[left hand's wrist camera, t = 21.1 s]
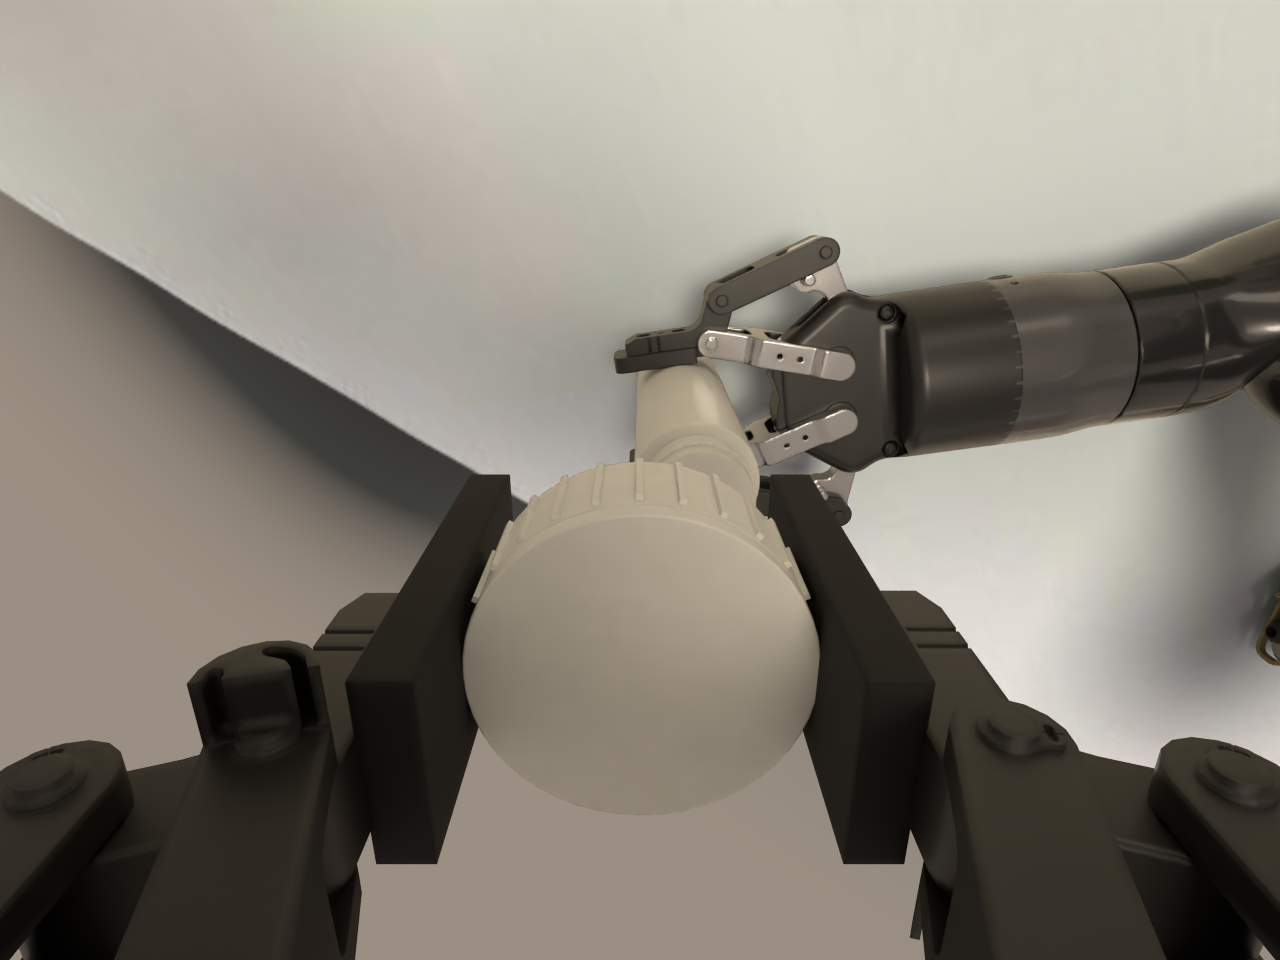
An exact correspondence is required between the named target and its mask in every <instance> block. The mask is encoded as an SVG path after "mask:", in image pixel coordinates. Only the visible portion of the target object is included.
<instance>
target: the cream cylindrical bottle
mask: <svg viewBox="0 0 1280 960" xmlns="http://www.w3.org/2000/svg"><path fill="white" fill-rule="evenodd" d="M697 362H698V363H696V364H689V365H680V366H674V367H667V368H660V369H653V370H646V371H639V372H638V384H637V411H636V438H635V462H636V459H637V458H643V462H655V463H666V464H671V465H675V462H680V463H682V465H683V467H686V468H689V469H692V470H695V471H698V472H701V473H704V474H707V475H709V476H712V474H713V473H714V474H716V475H718V476H719V479H720V481H721V482H723V483H725V484H727V485H728V486H730V487H731V488H733V489H734V490H736V491H737V492H739V493H740V494H742V495H743V494H744V493H747V494H748V495H749V496H750V497H751V500H752V503H753V505H755V506H756V498H757V495H758V491H759V485H760V474H759V468H758V464H757V461H756V458H755V456H754V453H753V451H752V449H751V447H750V444H749V442H748V440H747V438H746V435H745V433H744V431H743V429H742V426H741V424H740V422H739V420H738V417H737V415H736V413H735V410H734V408H733V406H732V404H731V401H730V399H729V397H728V395H727V392H726V390H725V388H724V386H723V383H722V381H721V379H720V377H719V374H718V372H717V370H716V368H715V365H714V363H713V361H712V359H711V358H709V357H706V356H704V357H697Z"/></svg>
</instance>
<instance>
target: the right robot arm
mask: <svg viewBox="0 0 1280 960" xmlns="http://www.w3.org/2000/svg"><path fill="white" fill-rule="evenodd" d="M839 255H840V247H839V245H838V243H837V242H836V241H835V240H834V239H832V238H828V237H822V236H816V235H813V236H809V237H807V238H805V239H803V240H801V241H799V242H796V243H794V244H792V245H790V246H788V247H786V248H784V249H782V250H780V251H777V252H775V253H773V254H771V255H769V256H767V257H765V258H763V259H761V260H759V261H756V262H754V263H752V264H750V265H748V266H746V267H744V268H742V269H740V270H737V271H735V272H733V273H731V274H729V275H727V276H725V277H723V278H721V279H718V280H716V281H714V282H712V283H710V284H709V285H708V286H707V287H706V289H705V291H704V300H703V304H702V309H701V313H700V316H699V318H698V320H697V321H696V322H695V323H694V324H692V325H691V326H688V327H683V328H676V329H669V330H662V331H655V332H649V333H641V334H635V335H634V336H632V337H630V338H629V339H627V340H626V344H625V346H626V349H624V350H620V351H617V352H615V355H614V361H615V368H616V373H618V374H624V373H632V372H639V371H646V370H653V369H660V368H667V367H674V366H680V365H689V364H696V363H698V362H697V357H704V356H706V357H709V358H715V359H722V360H728V361H735V362H741V363H746V364H749V365H752V366H755V367H761V368H766V369H767V375H768V377H769V380H770V383H771V385H772V394H771V399H770V414H769V415H767V416H765V417H763V418H760V419H758V420H756V421H754V422H752V423H751V424H749V425H748V427H747V428H745V429H743V431H744V433H745V435H746V438H747V440H748V442H749V444H750V447H751V449H752V451H753V453H754V456H755V458H756V461H757V464H758V467H759V466H762V465H767V466H768V465H773V464H776V463H778V462H781V461H783V460H785V459H788V458H790V457H792V456H795V455H797V454H800V453H802V452H806V453H808V454H809V455H811V456H813V457H815V458H817V459H819V460H821V461H823V462H825V463H827V464H829V465H831V467H830V469H829V470H827V471H826V472H824V473H815V474H811V475H810V476H811V478H812V480H813V481H814V483H815V485H816V486H817V488H818V489H819V491H820V493H821V494H822V496H823V498H824V499H825V501H826V503H827V504H828V506H829V508H830V509H831V511H832V512H833V514H834V516H835V517H836V519H837V521H838V522H839V524H840V526H843V525H845V524H847V523H848V522H849V520H850V519H851V515H852V513H851V509H850V508H849V506H848V504H847V501H848V497H849V493H850V490H851V486H852V482H853V479H854V475H855V472H858V471H861V470H863V469H865V468H867V467H868V466H869V465H871V464H873V463H874V462H876V461H878V460H881V459H884V458H891V457H907V456H915V455H922V454H930V453H937V452H945V451H953V450H960V449H968V448H975V447H982V446H990V445H998V444H1005V443H1013V442H1020V441H1028V440H1035V439H1042V438H1048V437H1054V436H1059V435H1063V434H1067V433H1071V432H1074V431H1078V430H1081V429H1085V428H1089V427H1094V426H1099V425H1107V424H1114V423H1122V422H1129V421H1137V420H1144V419H1152V418H1159V417H1167V416H1174V415H1180V414H1186V413H1191V412H1196V411H1200V410H1203V409H1206V408H1209V407H1212V406H1214V405H1217V404H1219V403H1221V402H1223V401H1225V400H1227V399H1229V398H1230V397H1232V396H1233V395H1235V394H1236V393H1237V392H1239V391H1240V390H1241V389H1242V388H1244V390H1245V391H1246V393H1247V394H1248V396H1249V397H1250V398H1251V400H1252V401H1253V402H1254V403H1255V404H1256V405H1257V406H1258V407H1259V408H1260V409H1261V410H1263V411H1264V412H1265V413H1266V414H1267V415H1268V416H1270V417H1271V418H1273V419H1274V420H1275V421H1277V422H1278V423H1279V424H1280V218H1279V219H1277V220H1274V221H1272V222H1269V223H1266V224H1264V225H1261V226H1258V227H1256V228H1253V229H1251V230H1248V231H1245V232H1243V233H1240V234H1237V235H1234V236H1232V237H1229V238H1226V239H1224V240H1221V241H1219V242H1217V243H1215V244H1212V245H1210V246H1208V247H1206V248H1203V249H1201V250H1199V251H1197V252H1195V253H1192V254H1190V255H1187V256H1185V257H1182V258H1179V259H1174V260H1168V261H1158V262H1150V263H1143V264H1137V265H1130V266H1123V267H1116V268H1109V269H1102V270H1095V271H1086V272H1075V273H1035V274H1026V275H1019V276H1007V275H1001V276H995V277H991V278H988V279H987V280H984V281H978V282H971V283H964V284H958V285H950V286H943V287H936V288H929V289H923V290H916V291H909V292H902V293H895V294H888V295H881V296H865V295H861V294H858V293H855V292H853V291H851V290H847V288H846V285H845V283H844V280H843V277H842V274H841V272H840V269H839V266H838V263H837V260H838V258H839ZM790 284H791V286H792V287H793V288H794V289H796V290H798V291H800V292H803V293H808V292H812V291H819V292H820V293H821V294H822V295H823V298H822V299H821V300H820V301H819V302H818V303H816V304H815V305H814V306H813V307H812V308H811V309H810V310H809V311H808V312H807V313H806V314H804V315H803V316H802V317H801V318H800V319H799V320H798V321H797V322H796V323H795V324H793V325H792V326H791V327H790V328H789V329H788V330H787V331H786V332H785V333H783V332H776V331H770V330H763V329H757V328H749V327H747V328H742V327H735V326H729V321H730V317H731V313H732V311H735V310H737V309H739V308H741V307H743V306H745V305H747V304H750V303H752V302H754V301H756V300H758V299H760V298H762V297H765V296H767V295H769V294H771V293H773V292H775V291H777V290H780V289H782V288H784V287H786V286H788V285H790ZM774 426H775V427H774ZM785 443H787V444H786V445H785ZM630 462H635V449H633V450H631V451H630ZM769 492H770V477H767V476H760V485H759V491H758V495H757V498H756V507H757V509H758V510H759V511H760V512H761V513H762V514H763V515H764V516H767V517H768V506H769Z"/></svg>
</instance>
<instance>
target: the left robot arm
mask: <svg viewBox="0 0 1280 960" xmlns="http://www.w3.org/2000/svg"><path fill="white" fill-rule="evenodd" d="M770 518H772V519H773V520H774V522H775V524H776V526H777V529H778V531H779V534H780V536H781V538H782V541H783V543H784V546H785V548H787V547H789V548H790V550H791V552H792V555H793V557H794V559H795V562H796V564H797V566H798V569H799V571H800V574H801V576H802V578H803V581H804V583H805V585H806V588H807V590H808V592H809V595H810V597H811V599H808V600H806V602H807V605H808V607H809V610H810V612H811V615H812V617H813V620H814V624H815V627H816V630H817V634H818V637H819V645H820V657H819V668H818V678H817V687H816V696H815V704H814V706H813V709H812V712H811V715H810V717H809V719H808V721H807V723H806V725H805V727H804V729H803V732H804V736H805V739H806V742H807V746H808V749H809V752H810V755H811V758H812V762H813V765H814V769H815V772H816V775H817V778H818V782H819V785H820V788H821V791H822V795H823V798H824V801H825V805H826V808H827V811H828V815H829V818H830V821H831V824H832V828H833V831H834V834H835V838H836V841H837V844H838V847H839V851H840V854H841V857H842V861H843V864H904V862H905V856H906V850H907V845H908V839H909V833H910V829H911V831H912V834H913V836H914V839H915V841H916V843H917V846H918V848H919V850H920V853H921V855H922V857H923V860H924V862H923V867H922V873H921V878H920V883H919V889H918V894H917V899H916V905H915V910H914V915H913V921H912V927H911V934H910V938H913V939H918V940H920V935H921V930H922V932H923V942H924V952H925V960H1263V958H1262V957H1261V956H1260V955H1259V954H1260V951H1261V949H1262V947H1263V945H1264V946H1265V947H1266V949H1267V950H1268V951H1269V952H1270V954H1271V955H1272V956H1273V957H1274V959H1275V960H1280V767H1279V766H1278V765H1276V764H1275V763H1273V762H1271V761H1269V760H1267V759H1265V758H1263V757H1261V756H1259V755H1257V754H1255V753H1253V752H1251V751H1249V750H1247V749H1244V748H1241V747H1239V746H1236V745H1235V746H1234V745H1231V744H1229V743H1225V742H1221V741H1218V740H1210V739H1202V738H1195V737H1189V738H1182V739H1175V740H1171V741H1170V742H1169V743H1168V744H1166V745H1165V746H1164V747H1163V748H1161V750H1160V753H1159V756H1158V760H1157V763H1156V766H1155V769H1154V768H1150V767H1145V766H1140V765H1136V764H1131V763H1126V762H1122V761H1117V760H1112V759H1108V758H1103V757H1098V756H1095V755H1091V754H1088V753H1084V752H1081V751H1079V749H1078V747H1077V745H1076V743H1075V742H1074V740H1073V739H1072V738H1071V736H1070V735H1069V733H1068V732H1067V730H1066V729H1065V728H1063V727H1062V726H1061V725H1059V724H1058V723H1057V722H1055V721H1054V720H1053V719H1051V718H1050V717H1049V716H1048V715H1046V714H1043V713H1041V712H1039V711H1037V710H1035V709H1033V708H1031V707H1029V706H1026V705H1024V704H1020V703H1016V702H1012V701H1009V700H1008V698H1007V697H1006V696H1005V694H1004V693H1003V692H1002V690H1001V689H1000V688H999V686H998V685H997V683H996V682H995V681H994V679H993V678H992V677H991V675H990V674H989V673H988V671H987V670H986V668H985V667H984V666H983V664H982V663H981V662H980V660H979V659H978V657H977V656H976V655H975V653H974V652H973V651H972V649H971V648H968V644H967V642H966V641H965V640H964V638H963V637H962V636H961V634H960V633H959V632H956V627H955V626H954V625H953V623H952V622H951V621H950V619H949V618H948V616H947V615H946V614H945V612H944V611H943V610H942V608H941V607H939V606H938V605H936V604H935V603H933V602H932V601H930V600H929V599H927V598H926V597H924V596H923V595H921V594H920V593H918V592H917V591H880V590H879V588H878V587H877V585H876V583H875V582H874V580H873V578H872V577H871V575H870V573H869V572H868V570H867V568H866V567H865V565H864V563H863V562H862V560H861V559H860V557H859V555H858V554H857V552H856V550H855V549H854V547H853V545H852V544H851V542H850V540H849V539H848V537H847V536H846V534H845V532H844V531H843V529H842V527H841V526H840V524H839V522H838V521H837V519H836V517H835V516H834V514H833V512H832V511H831V509H830V508H829V506H828V504H827V503H826V501H825V499H824V498H823V496H822V494H821V493H820V491H819V489H818V488H817V486H816V485H815V483H814V481H813V480H812V478H811V476H810V475H771V477H770V492H769V506H768V519H770ZM509 520H510V521H512V522H513V514H512V500H511V485H510V475H470V477H469V479H468V480H467V482H466V484H465V485H464V487H463V489H462V490H461V492H460V493H459V495H458V497H457V498H456V500H455V502H454V504H453V505H452V507H451V508H450V510H449V512H448V513H447V515H446V517H445V518H444V520H443V521H442V523H441V525H440V526H439V528H438V530H437V531H436V533H435V535H434V536H433V538H432V540H431V541H430V543H429V545H428V546H427V548H426V549H425V551H424V553H423V554H422V556H421V558H420V559H419V561H418V563H417V564H416V566H415V568H414V569H413V571H412V572H411V574H410V576H409V577H408V579H407V581H406V582H405V584H404V586H403V587H402V589H401V591H400V592H399V593H364V594H363V595H361V596H360V597H359V598H357V599H356V600H354V601H353V602H351V603H350V604H348V605H347V606H345V607H344V608H342V609H341V610H339V612H338V613H337V615H336V616H335V617H334V619H333V620H332V622H331V623H330V624H329V626H328V627H327V628H326V630H325V634H322V635H321V637H320V638H319V639H318V641H317V642H316V644H315V645H314V646H313V649H312V648H310V647H309V646H308V645H306V644H302V643H298V642H293V641H266V642H261V643H257V644H252V645H248V646H244V647H240V648H238V649H236V650H233V651H231V652H228V653H226V654H223V655H221V656H219V657H217V658H215V659H214V660H212V661H211V662H209V663H208V664H206V665H205V666H203V667H202V668H200V669H199V670H198V671H197V672H196V674H195V675H194V676H193V677H192V678H191V680H190V681H189V682H188V683H187V687H188V691H189V694H190V698H191V702H192V706H193V709H194V713H195V717H196V721H197V724H198V728H199V732H200V735H201V739H202V743H203V748H202V750H201V753H200V755H197V756H193V757H190V758H186V759H183V760H178V761H173V762H169V763H164V764H159V765H155V766H150V767H146V768H141V769H137V770H131V771H127V770H126V767H125V764H124V761H123V758H122V755H121V752H120V751H119V750H118V749H116V748H115V747H114V746H113V745H111V744H110V743H106V742H99V741H92V740H88V741H80V742H72V743H65V744H61V745H58V746H53V747H51V748H49V749H47V748H46V749H44V750H41V751H38V752H36V753H33V754H31V755H29V756H28V757H25V758H24V759H21V760H19V761H18V762H15V763H13V764H12V765H10V766H8V767H6V768H4V769H3V770H2V771H0V960H10V959H11V957H12V956H13V955H14V953H15V952H16V951H17V950H18V949H19V950H20V952H21V954H22V958H21V960H355V954H356V944H357V934H358V924H359V915H360V905H361V895H362V891H361V885H360V878H359V873H358V867H357V862H358V860H359V857H360V855H361V853H362V850H363V848H364V846H365V843H366V841H367V839H368V836H369V834H370V831H371V836H372V842H373V848H374V853H375V859H376V864H437V862H438V859H439V855H440V852H441V849H442V846H443V842H444V839H445V836H446V832H447V829H448V826H449V823H450V819H451V816H452V813H453V809H454V806H455V803H456V800H457V796H458V793H459V790H460V786H461V783H462V780H463V777H464V773H465V770H466V767H467V763H468V760H469V757H470V754H471V750H472V747H473V744H474V740H475V737H476V734H477V731H478V727H479V726H478V724H477V723H476V721H475V719H474V717H473V714H472V711H471V708H470V706H469V703H468V700H467V697H466V692H465V686H464V680H463V665H462V655H463V647H464V640H465V635H466V632H467V628H468V625H469V622H470V618H471V615H472V613H473V611H474V608H475V606H476V603H473V602H471V601H472V598H473V595H474V593H475V591H476V588H477V586H478V583H479V581H480V579H481V576H482V574H483V571H484V569H485V567H486V564H487V562H488V560H489V557H490V555H491V552H492V550H495V551H496V549H497V546H498V544H499V542H500V539H501V537H502V534H503V532H504V529H505V527H506V524H507V523H508V522H509Z"/></svg>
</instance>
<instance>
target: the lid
mask: <svg viewBox="0 0 1280 960" xmlns="http://www.w3.org/2000/svg"><path fill="white" fill-rule="evenodd" d="M808 599H811V597H810V595H809V592H808V590H807V588H806V585H805V583H804V581H803V578H802V576H801V574H800V571H799V569H798V566H797V564H796V562H795V559H794V557H793V555H792V552H791V550H790V548H789V547H787V548H785V546H784V543H783V541H782V538H781V536H780V534H779V531H778V529H777V526H776V524H775V522H774V520H773V519H772V518H770V519H768V520H767V519H766V518H765V517H764V515H763V514H762V513H761V512H760V511H759V510H758V509H757V507H756V506H755V505H753V503H752V500H751V497H750V496H749V495H748V494H747V493H744V494H743V495H742V494H740V493H739V492H737V491H736V490H734V489H733V488H731V487H730V486H728V485H727V484H725V483H723V482H721V481H720V479H719V476H718V475H716V474H714V473H713V474H712V476H709V475H707V474H704V473H701V472H698V471H695V470H692V469H689V468H686V467H683V465H682V463H680V462H675V465H671V464H666V463H655V462H643V458H637V459H636V462H627V463H617V464H612V465H606V466H605V465H604V463H599V464H597V468H594V469H591V470H588V471H585V472H582V473H579V474H577V475H574V476H572V477H570V478H569V477H568V476H567V475H565V476H563V477H561V480H560V483H558V484H557V485H555V486H553V487H552V488H550V489H549V490H547V491H546V492H544V493H543V494H541V495H540V496H539V497H537V496H536V495H534V496H532V497H531V498H530V501H529V503H528V506H527V508H526V509H525V510H524V511H523V512H522V513H521V514H520V515H519V516H518V518H517V519H516V520H515V521H514V522H512V521H510V520H509V522H508V523H507V524H506V527H505V529H504V532H503V534H502V537H501V539H500V542H499V544H498V546H497V549H496V551H495V550H492V552H491V555H490V557H489V560H488V562H487V564H486V567H485V569H484V571H483V574H482V576H481V579H480V581H479V583H478V586H477V588H476V591H475V593H474V595H473V598H472V601H471V602H473V603H476V606H475V608H474V611H473V613H472V615H471V618H470V622H469V625H468V628H467V632H466V635H465V640H464V647H463V655H462V665H463V680H464V686H465V692H466V697H467V700H468V703H469V706H470V708H471V711H472V714H473V717H474V719H475V721H476V723H477V724H478V726H479V728H480V730H481V732H482V734H483V735H484V737H485V738H486V740H487V741H488V742H489V744H490V745H491V747H492V748H493V749H494V750H495V752H496V753H497V754H498V755H499V756H500V757H501V758H502V759H503V760H504V761H505V762H506V764H507V765H509V766H510V767H511V768H512V769H513V770H515V771H516V772H517V773H518V774H519V775H520V776H522V777H523V778H525V779H526V780H528V781H529V782H531V783H532V784H534V785H535V786H537V787H538V788H540V789H542V790H544V791H546V792H548V793H549V794H551V795H553V796H555V797H557V798H560V799H562V800H565V801H568V802H570V803H573V804H576V805H578V806H582V807H586V808H590V809H594V810H597V811H603V812H610V813H616V814H628V815H655V814H667V813H674V812H680V811H685V810H689V809H693V808H697V807H701V806H705V805H707V804H710V803H713V802H715V801H718V800H721V799H724V798H726V797H728V796H730V795H732V794H734V793H736V792H738V791H740V790H742V789H743V788H745V787H747V786H748V785H750V784H751V783H753V782H754V781H756V780H757V779H759V778H760V777H761V776H763V775H764V774H765V773H766V772H767V771H769V770H770V769H771V768H772V767H773V766H775V765H776V764H777V763H778V762H779V761H780V759H781V758H782V757H783V756H784V755H785V754H786V753H787V752H788V751H789V750H790V748H791V747H792V746H793V744H794V743H795V741H796V740H797V739H798V737H799V736H800V734H801V733H802V731H803V729H804V727H805V725H806V723H807V721H808V719H809V717H810V715H811V712H812V709H813V706H814V704H815V696H816V687H817V678H818V668H819V657H820V645H819V637H818V634H817V630H816V627H815V624H814V620H813V617H812V615H811V612H810V610H809V607H808V605H807V602H806V600H808Z"/></svg>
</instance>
